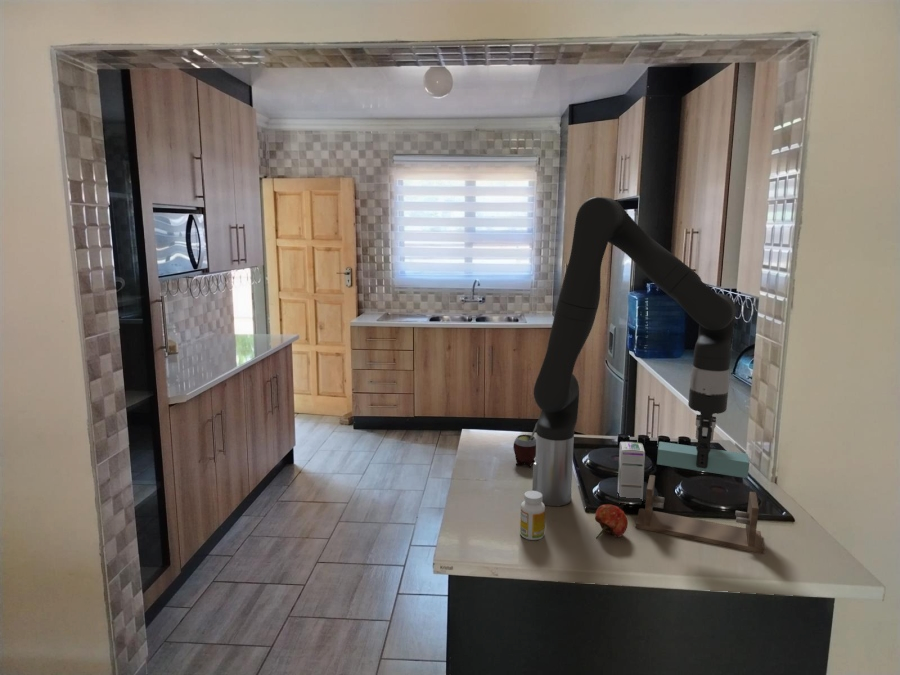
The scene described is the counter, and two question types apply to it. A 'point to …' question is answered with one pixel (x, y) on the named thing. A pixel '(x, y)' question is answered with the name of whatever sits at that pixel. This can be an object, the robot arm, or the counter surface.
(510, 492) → the counter surface
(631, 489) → the syrup box
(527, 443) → the mate gourd
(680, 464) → the teal rectangular block
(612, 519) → the red mushroom
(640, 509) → the rack
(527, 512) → the supplement bottle
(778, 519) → the counter surface
